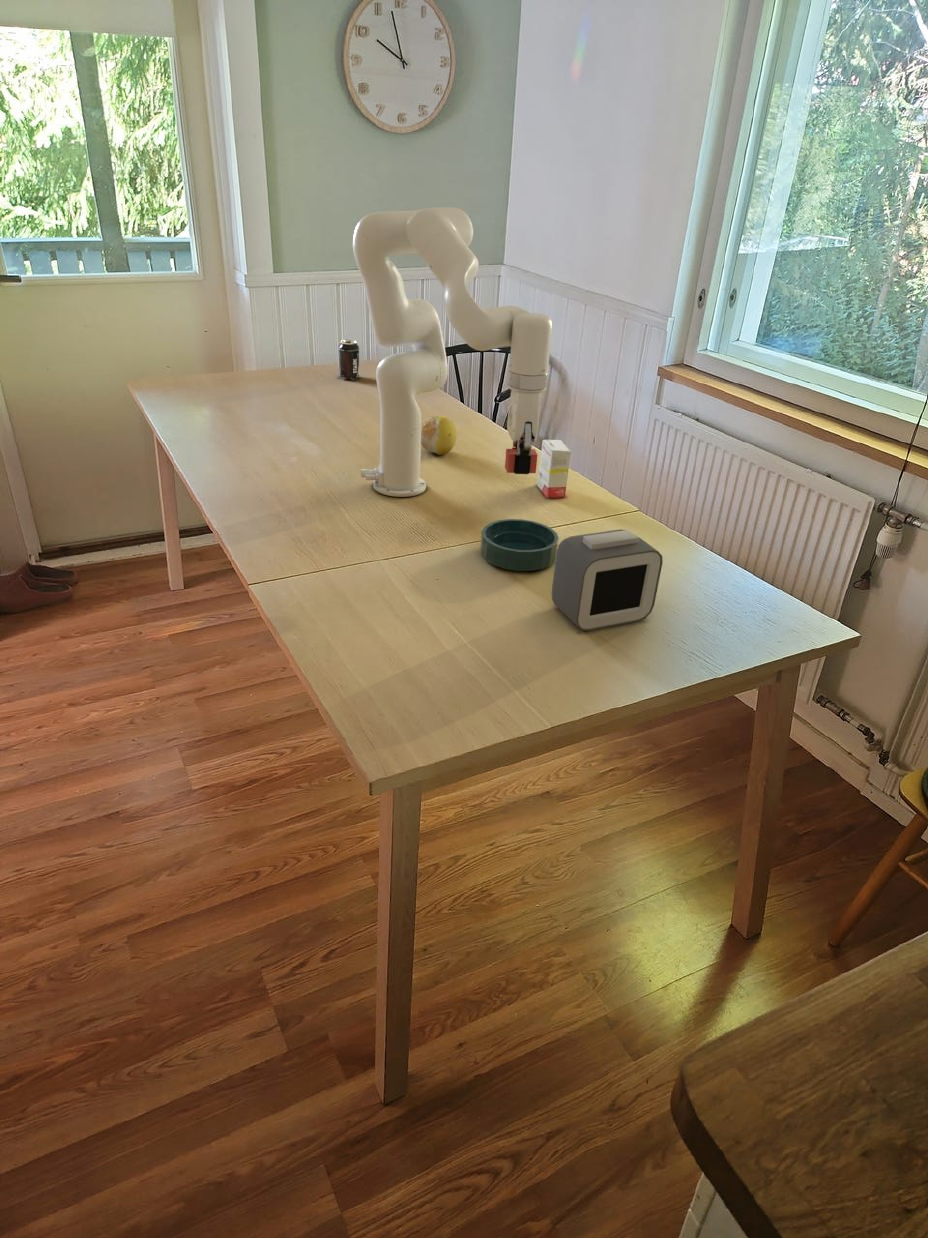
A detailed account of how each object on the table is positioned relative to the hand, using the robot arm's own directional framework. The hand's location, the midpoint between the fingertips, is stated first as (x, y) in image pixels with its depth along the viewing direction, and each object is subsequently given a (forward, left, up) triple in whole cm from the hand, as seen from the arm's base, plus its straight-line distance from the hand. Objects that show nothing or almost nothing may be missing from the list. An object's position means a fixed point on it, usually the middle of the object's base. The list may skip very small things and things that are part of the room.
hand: (520, 469), depth 173 cm
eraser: (0, 0, 0) cm, 0 cm away
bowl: (0, -9, -16) cm, 18 cm away
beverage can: (-40, +123, -16) cm, 130 cm away
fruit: (-14, +52, -16) cm, 56 cm away
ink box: (+13, +27, -16) cm, 34 cm away
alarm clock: (+12, -31, -16) cm, 37 cm away
